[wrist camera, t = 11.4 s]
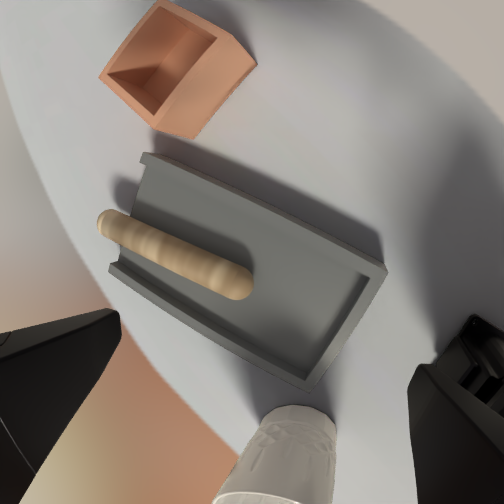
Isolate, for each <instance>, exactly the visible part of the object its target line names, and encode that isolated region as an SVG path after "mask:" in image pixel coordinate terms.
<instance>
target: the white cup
mask: <svg viewBox="0 0 504 504" xmlns="http://www.w3.org/2000/svg"><path fill="white" fill-rule="evenodd" d="M336 441H337V436H336V426H335V425H334V423H333V422H332V421H331V420H330V419H329V417H328V416H327V415H326V414H324V413H322V412H320V411H318V410H316V409H314V408H312V407H307V406H299V405H288V406H284V407H279V408H275V409H274V410H273V411H271V412H270V413H268V414H267V415H266V416H265V417H264V418H263V420H262V422H261V424H260V426H259V428H258V429H257V431H256V433H255V435H254V436H253V437H252V438H251V440H250V441H249V443H248V444H247V446H246V448H245V449H244V451H243V453H242V454H241V456H240V457H239V459H238V460H237V462H236V464H235V465H234V467H233V469H232V470H231V472H230V474H229V475H228V477H227V479H226V480H225V482H224V484H223V485H222V487H221V488H220V490H219V492H218V493H217V495H216V496H215V498H214V499H213V501H212V504H332V498H333V491H334V482H335V467H336Z"/></svg>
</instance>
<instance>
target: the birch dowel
mask: <svg viewBox="0 0 504 504" xmlns="http://www.w3.org/2000/svg"><path fill="white" fill-rule="evenodd" d="M97 228H98V230H99V232H100V233H101V234H102V235H103V236H105V237H107V238H108V239H110V240H112V241H114V242H116V243H118V244H120V245H122V246H124V247H126V248H127V249H129V250H131V251H133V252H135V253H137V254H139V255H141V256H143V257H145V258H147V259H149V260H151V261H153V262H155V263H157V264H159V265H161V266H163V267H165V268H167V269H169V270H171V271H173V272H175V273H177V274H179V275H181V276H183V277H185V278H187V279H189V280H191V281H193V282H196V283H198V284H200V285H202V286H204V287H206V288H208V289H210V290H212V291H214V292H217V293H219V294H221V295H223V296H225V297H227V298H229V299H233V300H241V299H244V298H246V297H247V296H248V295H249V294H250V293H251V292H252V290H253V287H254V279H253V276H252V274H251V273H250V271H249V270H248V269H246V268H245V267H243V266H240V265H238V264H236V263H233V262H231V261H229V260H226V259H224V258H222V257H220V256H217V255H215V254H213V253H210V252H208V251H206V250H204V249H201V248H199V247H197V246H195V245H192V244H190V243H188V242H185V241H183V240H181V239H179V238H176V237H174V236H172V235H170V234H167V233H165V232H163V231H161V230H159V229H156V228H154V227H152V226H150V225H147V224H145V223H143V222H141V221H139V220H136V219H134V218H132V217H130V216H127V215H125V214H123V213H121V212H119V211H116V210H113V209H108V210H105V211H103V212H102V213H101V214H100V215H99V217H98V220H97Z"/></svg>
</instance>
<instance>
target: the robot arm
mask: <svg viewBox="0 0 504 504" xmlns="http://www.w3.org/2000/svg"><path fill="white" fill-rule="evenodd" d="M475 319H476V322H475V323H474V324H472V322H473V321H474V320H475ZM121 336H122V332H121V323H120V315H119V313H118V312H117V311H116V310H112V309H109V308H105V309H101V310H97V311H93V312H89V313H85V314H80V315H76V316H72V317H68V318H64V319H60V320H56V321H52V322H48V323H43V324H39V325H35V326H31V327H27V328H22V329H18V330H14V331H12V332H11V331H10V332H5V333H1V334H0V504H19V503H20V501H21V499H22V497H23V496H24V494H25V492H26V491H27V489H28V487H29V486H30V484H31V482H32V481H33V479H34V477H35V476H36V473H37V472H38V470H39V469H40V467H41V466H42V464H43V463H44V461H45V459H46V458H47V456H48V455H49V453H50V451H51V450H52V448H53V446H54V445H55V444H56V442H57V441H58V439H59V437H60V436H61V434H62V433H63V431H64V430H65V428H66V427H67V425H68V424H69V422H70V421H71V419H72V418H73V416H74V415H75V413H76V412H77V410H78V409H79V407H80V406H81V404H82V403H83V401H84V400H85V399H86V397H87V396H88V394H89V393H90V391H91V390H92V388H93V387H94V385H95V384H96V382H97V381H98V380H99V378H100V376H101V375H102V373H103V371H104V370H105V368H106V366H107V364H108V362H109V360H110V359H111V357H112V355H113V353H114V351H115V349H116V348H117V346H118V344H119V342H120V340H121ZM407 395H408V409H409V428H410V439H411V446H412V453H413V460H414V468H415V477H416V487H417V498H418V504H504V331H502V330H500V329H499V328H497V327H496V326H494V325H493V324H491V323H490V322H488V321H486V320H485V319H483V318H482V317H480V316H479V315H477V314H473V315H471V316H470V317H469V319H468V320H467V322H466V323H465V325H464V326H463V328H462V329H461V331H460V332H459V334H458V335H457V337H455V338H454V339H453V341H452V342H451V343H450V345H449V346H448V348H447V349H446V351H445V352H444V353H443V355H442V356H441V357H440V359H439V360H438V362H437V363H436V366H434V365H432V364H419V365H418V366H417V368H416V370H415V373H414V375H413V377H412V379H411V381H410V383H409V385H408V390H407Z"/></svg>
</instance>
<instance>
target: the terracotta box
mask: <svg viewBox="0 0 504 504" xmlns="http://www.w3.org/2000/svg"><path fill="white" fill-rule="evenodd" d="M256 66H257V63H256V62H255V61H254V60H253V59H252V57H251V56H250V55H249V54H248V53H247V51H246V50H245V49H244V48H243V47H242V46H241V44H240V43H239V42H238V41H237V40H236V39H235V38H234V37H233V35H231V34H230V33H228V32H226V31H225V30H223V29H221V28H219V27H218V26H216V25H214V24H212V23H211V22H209V21H207V20H205V19H203V18H201V17H199V16H198V15H196V14H194V13H192V12H190V11H188V10H186V9H184V8H182V7H180V6H178V5H176V4H174V3H172V2H169V1H167V0H157V1H156V3H155V4H154V5H153V6H152V7H151V8H150V9H149V10H148V12H147V13H146V14H145V15H144V16H143V18H142V19H141V20H140V21H139V22H138V24H137V25H136V26H135V27H134V28H133V30H132V31H131V32H130V34H129V35H128V36H127V37H126V39H125V40H124V41H123V43H122V44H121V45H120V47H119V48H118V49H117V51H116V52H115V54H114V55H113V56H112V58H111V59H110V61H109V62H108V63H107V65H106V66H105V68H104V69H103V71H102V72H101V74H100V75H99V77H98V78H99V79H100V80H101V81H102V82H103V83H105V84H106V85H107V86H108V87H109V88H110V89H111V90H112V91H113V92H114V93H115V94H116V95H118V96H119V97H120V98H121V99H122V100H123V101H124V102H125V103H126V104H127V105H128V106H129V107H130V108H132V109H133V110H134V111H135V112H136V113H137V114H138V115H139V116H140V117H141V118H142V119H143V120H144V121H145V122H146V123H148V124H149V125H150V126H151V127H152V128H153V129H154V130H158V131H162V132H166V133H170V134H174V135H178V136H181V137H185V138H189V139H193V140H194V138H195V137H196V136H197V134H198V133H199V132H200V131H201V129H202V128H203V127H204V126H205V124H206V123H207V122H208V121H209V120H210V118H211V117H212V116H213V115H214V113H215V112H216V111H217V110H218V109H219V107H220V106H221V105H222V104H223V103H224V102H225V100H226V99H227V98H228V97H229V96H230V95H231V93H232V92H233V91H234V90H235V89H236V88H237V87H238V85H239V84H240V83H241V82H242V81H243V80H244V79H245V78H246V77H247V75H248V74H249V73H250V72H251V71H252V70H253V69H254V68H255V67H256Z"/></svg>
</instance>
